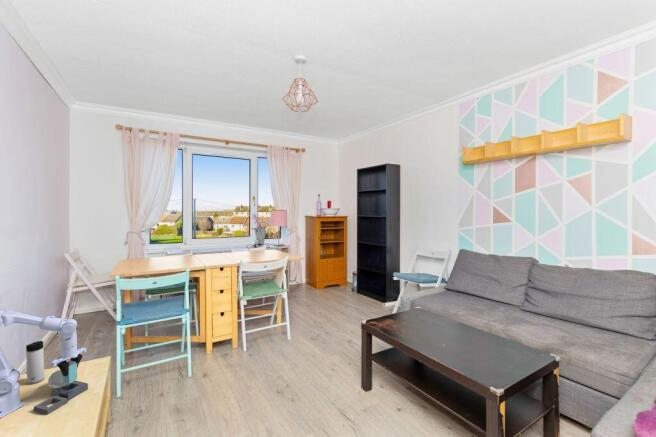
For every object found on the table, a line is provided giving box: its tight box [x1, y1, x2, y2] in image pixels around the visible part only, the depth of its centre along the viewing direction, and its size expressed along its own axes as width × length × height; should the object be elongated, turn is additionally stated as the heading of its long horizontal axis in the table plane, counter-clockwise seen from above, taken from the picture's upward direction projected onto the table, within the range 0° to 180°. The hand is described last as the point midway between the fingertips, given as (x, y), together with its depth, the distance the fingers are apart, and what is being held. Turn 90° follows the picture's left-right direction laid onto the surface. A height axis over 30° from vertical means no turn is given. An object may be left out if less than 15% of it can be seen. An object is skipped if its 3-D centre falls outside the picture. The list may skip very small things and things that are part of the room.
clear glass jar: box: [47, 369, 67, 389], centre depth 149 cm, size 8×8×10 cm
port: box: [51, 380, 89, 402], centre depth 145 cm, size 9×10×3 cm
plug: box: [63, 360, 78, 383], centre depth 145 cm, size 4×4×9 cm
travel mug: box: [25, 340, 45, 385], centre depth 153 cm, size 6×7×20 cm
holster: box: [33, 395, 69, 415], centre depth 136 cm, size 8×8×2 cm
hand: (69, 373), depth 145 cm, fingers closed on plug, 4 cm apart
